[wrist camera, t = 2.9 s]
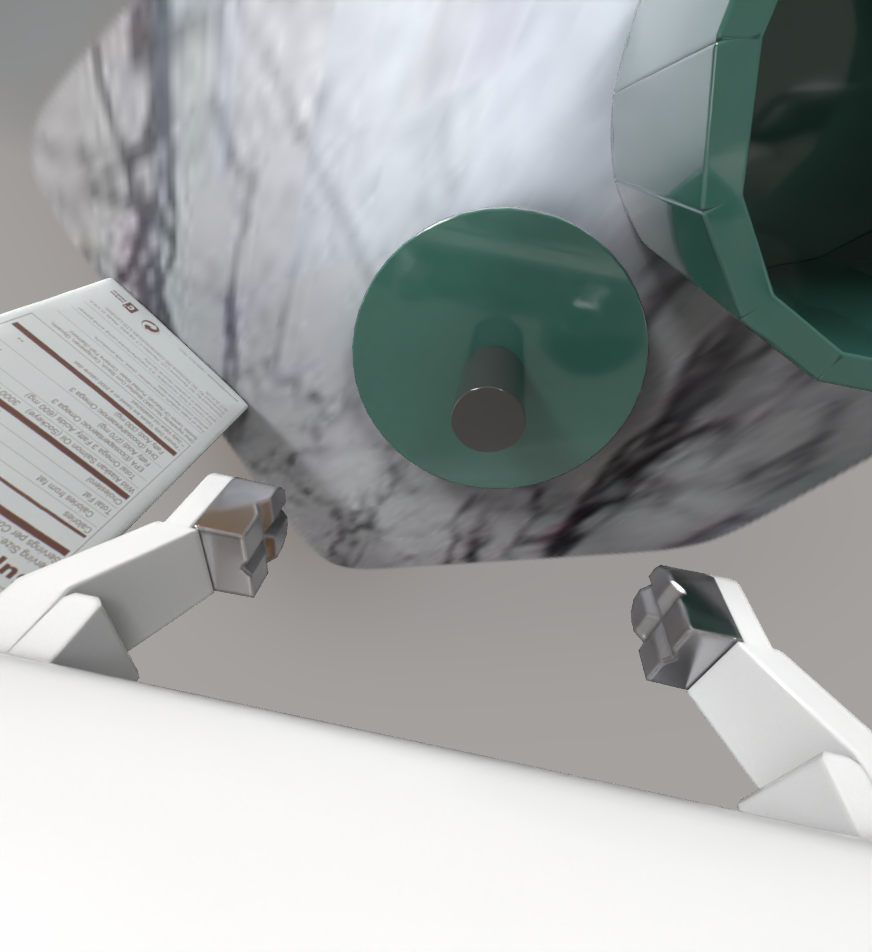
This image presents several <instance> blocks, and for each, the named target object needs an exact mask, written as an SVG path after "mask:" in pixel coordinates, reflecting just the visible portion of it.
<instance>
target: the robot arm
mask: <svg viewBox="0 0 872 952" xmlns="http://www.w3.org/2000/svg"><path fill="white" fill-rule="evenodd" d="M285 502H286V498H285V490H284V489H282V488H281V487H278V486H273V485H269V484H265V483H260V482H256V481H251V480H247V479H243V478H238V477H231V476H227V475H223V474H219V473H212V474H209V475H207V476H206V477H205V478H204V480H203V481H202V482H201V483H200V484H199V485H198V486H197V487H196V488H195V489H194V490H193V491H192V493H191V494H190V495H189V496H188V497H187V498H186V499H185V500H184V501H183V502H182V503H181V504H180V506H179V507H178V508H177V509H176V510H175V511H174V512H173V513H172V514H171V515H170V516H169V518H168V519H167V520H166V521H165V522H160V521H156V522H153V523H151V524H148V525H146V526H143V527H141V528H138V529H136V530H134V531H131V532H129V533H126V534H124V535H121V536H119V537H116V538H114V539H112V540H109V541H107V542H104V543H102V544H99V545H97V546H94V547H92V548H89V549H87V550H85V551H82V552H80V553H77V554H75V555H72V556H70V557H67V558H65V559H63V560H60V561H58V562H55V563H53V564H50V565H48V566H45V567H43V568H41V569H38V570H36V571H33V572H31V573H28V574H26V575H23V576H21V577H19V578H17V579H16V580H15V581H14V582H13V583H11V584H10V585H9V586H8V587H7V588H6V589H5V590H3V591H2V592H1V593H0V952H872V731H871V730H870V729H868V727H867V726H865V725H864V724H863V723H862V722H861V721H860V720H859V719H857V718H856V717H855V716H854V715H853V714H852V713H851V712H850V711H848V710H847V709H846V708H845V707H844V706H843V705H842V704H840V703H839V702H838V701H837V700H836V699H835V698H834V697H833V696H832V695H830V694H829V693H828V692H827V691H826V690H825V689H823V688H822V687H821V686H820V685H819V684H818V683H817V682H816V681H815V680H813V679H812V678H811V677H810V676H809V675H808V674H807V673H806V672H804V671H803V670H802V669H801V668H800V667H799V666H798V665H797V664H795V663H794V662H793V661H792V660H791V659H790V658H789V657H787V656H786V655H785V654H784V653H783V652H782V651H780V650H776V649H773V648H772V646H771V644H770V642H769V640H768V638H767V637H766V634H765V633H764V631H763V629H762V627H761V625H760V623H759V621H758V619H757V617H756V615H755V614H754V611H753V609H752V608H751V606H750V604H749V602H748V600H747V598H746V596H745V594H744V592H743V590H742V589H741V586H740V585H739V584H738V583H737V582H736V581H735V580H734V579H731V578H725V577H720V576H715V575H710V574H709V575H707V574H704V573H699V572H693V571H688V570H683V569H678V568H673V567H668V566H663V565H660V566H658V567H656V568H655V569H654V570H653V571H652V573H651V574H650V575H649V578H650V581H651V585H649V586H647V587H644V588H642V589H640V590H639V592H638V593H637V595H636V596H635V598H634V600H633V605H632V610H631V619H632V625H633V630H634V632H635V633H636V634H637V636H638V637H639V638H640V639H641V640H642V641H643V644H642V646H641V647H640V649H639V653H640V658H641V661H642V665H643V670H644V673H645V677H646V680H648V681H652V682H656V683H661V684H664V685H669V686H673V687H677V688H681V689H686V690H688V691H687V693H688V695H689V696H690V697H691V699H692V700H693V701H694V703H695V704H696V705H697V707H698V708H699V709H700V711H701V712H702V713H703V715H704V716H705V717H706V719H707V720H708V721H709V723H710V724H711V726H712V727H713V728H714V730H715V731H716V732H717V734H718V735H719V737H720V738H721V739H722V741H723V742H724V743H725V745H726V746H727V747H728V749H729V750H730V751H731V753H732V754H733V755H734V757H735V758H736V760H737V761H738V762H739V764H740V765H741V766H742V768H743V769H744V770H745V772H746V773H747V774H748V776H749V777H750V779H751V780H752V781H753V783H754V784H755V785H756V787H757V788H758V790H757V791H755V792H753V793H751V794H750V795H748V796H746V797H745V798H743V799H741V801H740V802H739V803H738V805H737V808H738V810H733V809H729V808H724V807H719V806H715V805H710V804H705V803H700V802H696V801H691V800H687V799H682V798H678V797H673V796H668V795H664V794H659V793H654V792H650V791H645V790H640V789H636V788H631V787H626V786H621V785H617V784H612V783H608V782H603V781H598V780H594V779H589V778H585V777H580V776H575V775H570V774H565V773H561V772H557V771H552V770H547V769H543V768H538V767H533V766H529V765H524V764H519V763H515V762H510V761H505V760H500V759H496V758H492V757H486V756H482V755H477V754H473V753H468V752H463V751H459V750H454V749H450V748H445V747H440V746H435V745H431V744H426V743H422V742H417V741H412V740H408V739H403V738H398V737H393V736H389V735H384V734H380V733H375V732H370V731H366V730H361V729H356V728H352V727H347V726H342V725H337V724H333V723H328V722H324V721H319V720H314V719H309V718H305V717H300V716H295V715H291V714H286V713H281V712H277V711H272V710H268V709H263V708H258V707H253V706H249V705H244V704H240V703H235V702H230V701H225V700H221V699H216V698H212V697H207V696H202V695H198V694H193V693H188V692H184V691H178V690H174V689H170V688H165V687H160V686H156V685H151V684H146V683H142V682H137V680H138V679H139V675H138V670H137V668H136V667H135V665H134V663H133V661H132V659H131V657H130V655H129V653H128V651H129V650H131V649H132V648H134V647H135V646H137V645H138V644H139V643H141V642H143V641H144V640H145V639H147V638H148V637H150V636H151V635H153V634H154V633H156V632H157V631H159V630H160V629H162V628H163V627H165V626H166V625H167V624H169V623H170V622H172V621H173V620H175V619H176V618H178V617H179V616H181V615H182V614H184V613H185V612H186V611H188V610H189V609H191V608H192V607H194V606H195V605H197V604H198V603H200V602H201V601H203V600H204V599H206V598H207V597H208V596H210V595H211V594H213V593H214V591H220V592H225V593H231V594H236V595H242V596H247V597H253V598H254V597H255V595H256V593H257V592H258V590H259V588H260V586H261V584H262V583H263V581H264V579H265V578H266V576H267V574H268V569H267V563H268V562H269V561H271V560H273V559H275V558H277V556H278V554H279V552H280V551H281V549H282V547H283V544H284V541H285V537H286V534H287V526H288V523H287V516H286V515H285V513H284V512H283V511H282V510H281V509H282V507H283V505H284V504H285Z"/></svg>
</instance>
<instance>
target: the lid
mask: <svg viewBox="0 0 872 952" xmlns="http://www.w3.org/2000/svg"><path fill="white" fill-rule="evenodd" d="M352 349H353V367H354V373H355V379H356V384H357V387H358V390H359V393H360V397H361V399H362V402H363V404H364V406H365V408H366V411H367V413H368V414H369V416H370V418H371V419H372V421H373V423H374V424H375V426H376V428H377V429H378V430H379V431H380V433H381V434H382V435H383V437H384V438H385V439H386V440H387V441H388V442H389V443H390V444H391V445H392V446H393V447H394V448H395V449H396V450H397V451H398V452H399V453H400V454H401V455H403V456H404V457H405V458H406V459H408V460H409V461H410V462H412V463H413V464H415V465H417V466H418V467H420V468H421V469H423V470H425V471H427V472H429V473H431V474H433V475H435V476H437V477H440V478H442V479H445V480H448V481H450V482H454V483H458V484H462V485H466V486H472V487H478V488H492V489H503V488H516V487H523V486H529V485H533V484H537V483H541V482H544V481H547V480H550V479H553V478H555V477H558V476H560V475H562V474H564V473H566V472H568V471H570V470H572V469H574V468H576V467H578V466H579V465H581V464H582V463H584V462H585V461H587V460H588V459H590V458H591V457H592V456H593V455H595V454H596V453H597V452H598V451H599V450H601V449H602V448H603V447H604V446H605V445H606V444H607V443H608V442H609V441H610V440H611V439H612V438H613V437H614V436H615V434H616V433H617V432H618V430H619V429H620V428H621V426H622V425H623V424H624V422H625V421H626V419H627V418H628V416H629V414H630V412H631V410H632V409H633V407H634V405H635V403H636V400H637V398H638V395H639V393H640V390H641V388H642V385H643V381H644V377H645V373H646V369H647V359H648V349H649V348H648V328H647V323H646V318H645V313H644V309H643V306H642V303H641V301H640V298H639V295H638V293H637V290H636V288H635V286H634V284H633V283H632V281H631V279H630V277H629V276H628V274H627V272H626V270H625V269H624V268H623V267H622V265H621V264H620V263H619V262H618V260H617V259H616V258H615V257H614V255H613V254H612V253H611V252H610V251H609V250H608V249H607V248H606V247H605V246H604V245H603V244H602V243H601V242H599V241H598V240H597V239H596V238H595V237H594V236H593V235H591V234H589V233H588V232H586V231H585V230H583V229H582V228H580V227H579V226H577V225H576V224H574V223H572V222H569V221H567V220H565V219H563V218H560V217H558V216H556V215H553V214H550V213H546V212H542V211H539V210H535V209H530V208H521V207H512V206H502V207H485V208H479V209H474V210H469V211H464V212H461V213H458V214H455V215H453V216H450V217H447V218H444V219H442V220H440V221H438V222H436V223H434V224H432V225H430V226H428V227H426V228H425V229H423V230H422V231H420V232H419V233H417V234H416V235H415V236H413V237H412V238H410V239H409V240H408V241H406V242H405V243H404V244H403V245H402V246H401V247H400V248H399V249H398V250H397V251H396V252H395V253H394V254H393V255H392V256H391V257H390V258H389V259H388V260H387V261H386V262H385V264H384V265H383V266H382V268H381V269H380V270H379V271H378V273H377V274H376V275H375V277H374V279H373V281H372V282H371V284H370V286H369V288H368V289H367V291H366V293H365V296H364V298H363V301H362V303H361V306H360V308H359V311H358V315H357V319H356V324H355V328H354V336H353V346H352Z"/></svg>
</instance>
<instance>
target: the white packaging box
mask: <svg viewBox="0 0 872 952" xmlns="http://www.w3.org/2000/svg"><path fill="white" fill-rule="evenodd" d="M247 408H248V405H247V404H246V403H245V401H244V400H243V399H242V398H241V397H240V396H239V395H238V394H237V393H236V392H235V391H234V390H233V389H232V388H231V387H230V386H228V385H227V384H226V383H225V382H224V381H223V380H222V379H221V378H220V377H219V376H218V375H217V374H216V373H215V372H214V371H213V370H211V369H210V368H209V367H208V366H207V365H206V364H205V363H204V362H203V361H202V360H201V359H200V358H198V357H197V356H196V355H195V354H194V353H193V352H192V351H191V350H190V349H189V348H188V347H187V346H186V345H185V344H184V343H183V342H181V341H180V340H179V339H178V338H177V337H176V336H175V335H174V334H173V333H172V332H171V331H170V330H169V329H168V328H166V327H165V326H164V325H163V324H162V323H161V322H160V321H159V320H158V319H157V318H156V317H155V316H154V315H152V314H151V313H150V312H149V311H148V310H147V309H146V308H145V307H144V306H143V305H142V304H140V303H139V302H138V301H137V300H136V299H135V298H134V297H133V296H132V295H131V294H130V293H129V292H128V291H126V290H125V289H124V288H123V287H122V286H121V285H120V284H119V283H117V282H116V281H115V280H113V279H111V278H108V279H104V280H102V281H99V282H96V283H93V284H90V285H87V286H84V287H81V288H78V289H75V290H72V291H69V292H66V293H63V294H60V295H57V296H55V297H52V298H49V299H46V300H43V301H40V302H37V303H33V304H30V305H27V306H24V307H21V308H18V309H15V310H12V311H9V312H6V313H3V314H0V593H1V592H2V591H3V590H5V589H6V588H7V587H8V586H9V585H10V584H11V583H13V582H14V581H15V580H16V579H17V578H19V577H21V576H23V575H26V574H28V573H31V572H33V571H36V570H38V569H41V568H43V567H45V566H48V565H50V564H53V563H55V562H58V561H60V560H63V559H65V558H67V557H70V556H72V555H75V554H77V553H80V552H82V551H85V550H87V549H89V548H92V547H94V546H97V545H99V544H102V543H104V542H107V541H109V540H112V539H114V538H116V537H119V536H121V535H123V534H124V532H126V531H127V530H128V529H129V527H131V526H132V525H133V523H135V522H136V521H137V520H138V518H140V516H141V515H142V514H143V513H144V512H145V511H146V510H147V509H148V508H149V507H150V506H151V505H152V504H153V503H154V502H155V501H156V500H157V499H158V498H159V497H160V496H161V495H162V494H163V493H164V492H165V491H166V490H167V489H168V488H169V487H170V486H171V485H172V484H173V483H174V482H175V481H176V480H177V479H178V478H179V477H180V476H181V475H182V474H183V473H184V472H185V471H186V470H187V469H188V468H189V467H190V466H191V465H192V464H193V463H194V462H195V461H196V460H197V459H198V458H199V457H200V456H201V455H202V454H203V453H204V452H205V451H206V450H207V449H208V447H210V446H211V445H212V444H213V442H214V441H215V440H216V439H217V438H218V437H219V436H220V435H221V434H222V433H223V432H224V431H225V430H226V429H227V428H228V427H229V426H230V425H231V424H232V423H233V422H234V421H235V420H236V419H237V418H238V417H239V416H240V415H241V414H242V413H243V412H244V411H245V410H246V409H247Z"/></svg>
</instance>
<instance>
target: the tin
mask: <svg viewBox="0 0 872 952" xmlns="http://www.w3.org/2000/svg"><path fill="white" fill-rule="evenodd" d="M611 148H612V161H613V168H614V178H615V179H616V180H615V182H616V185H617V188H618V191H619V194H620V197H621V200H622V202H623V205H624V208H625V210H626V212H627V214H628V216H629V218H630V220H631V222H632V224H633V226H634V227H635V229H636V231H637V233H638V235H639V238H640V240H642V242H643V243H644V244H645V245H646V246H647V247H649V248H650V249H651V250H652V251H654V252H655V253H656V254H657V255H659V256H660V257H661V258H662V259H664V260H665V261H666V262H667V263H668V264H670V265H671V266H672V267H673V268H675V269H676V270H677V271H678V272H680V273H681V274H682V275H683V276H685V277H686V278H687V279H688V280H690V281H691V282H692V283H693V284H695V285H696V286H697V287H698V288H700V289H701V290H702V291H703V292H705V293H706V294H707V295H708V296H709V297H711V298H712V299H713V300H714V301H716V302H717V303H718V304H719V305H721V306H722V307H723V308H724V309H726V310H727V311H728V312H729V313H731V314H732V315H733V316H734V317H736V318H737V319H738V320H739V321H741V322H742V323H743V324H744V325H746V326H747V327H748V328H749V329H751V330H752V331H753V332H754V333H756V334H757V335H758V336H759V337H761V338H762V339H763V340H764V341H766V342H767V343H768V344H769V345H771V346H772V347H773V348H774V349H776V350H777V351H778V352H779V353H781V354H782V355H783V356H785V357H786V358H787V359H788V360H790V361H791V362H792V363H793V364H795V365H796V366H797V367H798V368H800V369H801V370H802V371H803V372H805V373H806V374H807V375H808V376H810V377H811V378H813V379H816V380H817V381H821V382H826V383H831V384H836V385H841V386H846V387H851V388H856V389H861V390H866V391H871V392H872V0H641V2H640V5H639V7H638V9H637V11H636V14H635V17H634V20H633V23H632V26H631V29H630V32H629V34H628V37H627V40H626V43H625V46H624V50H623V54H622V58H621V62H620V66H619V70H618V74H617V79H616V85H615V89H614V95H613V106H612V121H611Z"/></svg>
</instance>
